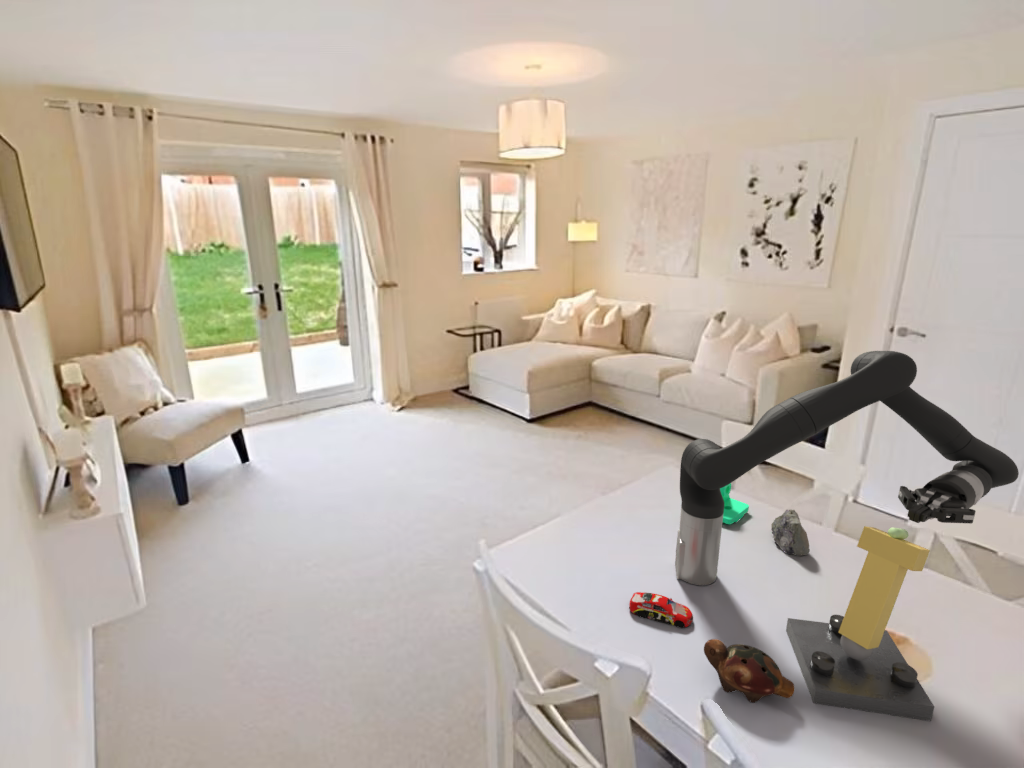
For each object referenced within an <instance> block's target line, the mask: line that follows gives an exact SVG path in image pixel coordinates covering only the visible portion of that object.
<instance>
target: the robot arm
mask: <svg viewBox="0 0 1024 768" xmlns="http://www.w3.org/2000/svg"><path fill="white" fill-rule="evenodd" d="M917 372H918V367H917V364H916V362H915V360H914V359H913V358H912V357H911V356H910V355H908V354H905V353H903V352H899V351H896V350H895V351H894V350H871V351H866V352H863V353H861V354H859V355H857V356H856V357H855V358H854V359H853V361H852V363H851V366H850V375H849V376H846V377H844V378H843V379H840V380H838V381H836V382H832V383H828V384H825V385H821V386H818V387H815V388H812V389H809V390H805V391H803V392H799V393H798V394H797V393H796V394H795V395H793V396H791V397H788V398H787V399H786V400H784V401H781V402H779V403H777V404H776V405H774V406H772V407H771V408H769V409H768V410H767V411H766V412H765V413H764V414H763V415H762V416H761V417H760V418H759V420H758V421H757V423H756V424H755V425H754V426H753V427H752V429H751V430H750V432H748V433H747V434H746V435H744V437H742V438H740V439H738V440H736V441H735V442H733V443H731V444H729V445H726V446H724V447H722V448H721V447H720V446H719V445H718V444H717V443H715V442H714V441H712V440H711V439H708V438H698V439H695V440H692V441H691V442H690V443H689V444H687V445H686V446H685V448H684V450H683V452H682V454H681V459H680V469H679V472H680V473H679V494H680V498H681V505H680V517H679V518H680V519H679V529H678V530H677V536H676V549H675V550H676V551H675V561H674V564H675V565H674V566H675V575H676V579H677V580H681V581H683V582H686V583H688V584H690V585H695V586H708V585H712V584H714V582H716V580H717V576H718V566H719V558H720V547H721V540H722V530H723V513H724V500H723V497H722V494H721V491H720V488H722V487H725V486H726V485H728V484H730V483H731V484H732V483H733V482H735V481H737V480H738V479H739V478H741V477H742V476H744V475H745V474H746V473H747V472H748V473H749V472H750V471H751V470H752V469H754V468H755V467H757V466H758V465H760V464H762V463H764V462H765V461H767V460H768V459H771V458H773V457H775V456H776V455H779V454H780V453H782V452H783V451H785V450H787V449H790V448H791V447H793V446H794V445H797V444H799V443H801V442H803V441H806V440H807V439H808V438H811V437H813V436H815V435H817V434H818V433H820V432H822V431H824V430H825V429H827V428H828V427H830V426H832V425H834V424H836V423H838V422H840V421H841V420H843V419H846V418H847V417H849V416H850V415H852V414H854V413H856V412H857V411H859V410H862V409H864V408H866V407H868V406H870V405H873V404H875V403H877V402H881V403H882V404H883V405H885V406H886V407H887V408H889V409H890V410H891V411H893V412H894V413H895V414H896V415H898V416H899V417H900V418H901V419H902V420H904V422H906V424H908V425H909V426H910V427H912V428H913V429H914V430H915V431H916V432H917V433H918V434H919V436H921V437H922V438H924V439H925V440H926V442H927V443H929V444H930V445H931V447H932V448H934V449H935V450H936V451H937V452H938V453H939V454H940V455H941V456H942V457H943V458H944V459H946V460H948V461H950V462H956V463H955V464H954V465H953V467H952V468H951V470H950V471H947V472H944V473H942V474H940V475H939V476H937V477H935V478H933V479H932V480H930V481H928V482H927V483H926V484H924V486H923V487H921V488H916V489H915V490H911V489H909V488H908V486H905V485H900V486H899V490H898V495H897V498H898V500H899V501H900V503H901V504H902V506H903V507H904V508H905V510H907V512H908V513H907V517H908V520H909V521H912V522H914V523H917V524H919V523H925V522H927V521H928V520H934V519H937V522H940V523H944V524H945V523H946V524H970V525H971V524H973V522H974V519H975V515H976V510H975V509H973V508H972V507H973V506H975V505H977V504H978V502H979V501H980V500H981V499H982V498H983V497H985V496H987V495H988V493H990V491H992V490H991V489H995V488H998V487H1003V486H1006V485H1010V484H1012V483H1014V482H1016V481H1017V479H1018V478H1019V468H1018V466H1017V464H1016V463H1015V461H1014V460H1013V459H1012V458H1011V457H1010V456H1009V455H1008V454H1006V453H1004V452H1003V451H1001V450H999V449H997V448H995V447H993V446H992V445H990V444H988V443H986V442H985V441H983V440H981V439H979V438H977V437H976V436H974V435H973V434H972V433H971V432H970V431H969V430H968V429H967V428H966V427H965V426H964V425H963V424H962V423H961V422H960V421H959V420H958V419H957V418H955V417H954V416H952V415H951V414H950V413H948V412H947V411H945V410H944V409H943V408H942V407H939V406H938V405H936V404H934V402H931V400H930V401H929V400H928V399H926V398H925V397H923V395H920V393H918V392H917V391H916V390H914V389H913V388H912V387H911V385H912V384H913V383H914V381H915V379H916V377H917Z"/></svg>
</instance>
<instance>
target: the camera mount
mask: <svg viewBox="0 0 1024 768" xmlns="http://www.w3.org/2000/svg"><path fill="white" fill-rule="evenodd" d="M731 490H732V483H730V484H728V485H726V486H725V487H722V488H720V491H721V494H722V497H723V500H724V513H723V522H722V524H726V525H733V523H734V522H737V521H738V520H739V519H741V518H742V517H743V516H745V514H746V513H748V512H749V509H750V505H749V504H748V503H745V502H743V501H740V500H737V499H734V498H732V497H730V493H731ZM743 518H744V517H743ZM743 518H742V519H743ZM742 519H741V520H742ZM739 521H740V520H739ZM739 521H738V522H739ZM738 522H737V523H738Z"/></svg>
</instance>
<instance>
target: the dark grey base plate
mask: <svg viewBox="0 0 1024 768" xmlns="http://www.w3.org/2000/svg"><path fill="white" fill-rule="evenodd" d="M844 616H845V615H844ZM844 616H843V615H841V614H831V616H830V618H829V622H823V621H822V622H821V621H814V620H806V619H797V618H790V617H787V621H786V626H785V627H786V628H785V632H786V634H787V636H788V640H789V642H790V645H791V647H792V650H793V653H794V656H795V658H796V661H797V663H798V666H799V669H800V671H801V673H802V676H803V679H804V683H805V684H806V685H805V686H806V687H807V689H808V693H809V695H810V698H811V700H812V703H813V704H818V705H824V706H833V707H839V708H844V707H845V708H844V709H850V708H852V709H851V710H856V709H859V710H858V711H864V712H871V713H877V714H882V713H883V714H884V715H889V714H890V716H894V717H895V716H896V717H903V718H909V719H916V720H922V721H929V722H931V721H932V718H933V714H934V710H935V705H934V704H933V702H932V701H931V699H930V698H929V696H928V694H927V692H926V691H925V688H923V686H922V684H921V683H920V681H919V680H918V674H919V673H918V672H917V670H916V669H915V668H913V667H912V666H910V665H909V663H907V660H906V659H905V657H904V655H903V654H902V652H901V651H900V649H899V647H898V646H897V645H896V643H895V641H894V640H893V638H892V637H891V634H890V633H889V632H888V630H886V629H885V631H884V634H883V636H882V639H881V642H880V644H879V647H877V648H873V651H872V654H871V655H870V657H869V658H867V659H865V660H855V659H853V658H851V657H849V656H848V655H847V654H846V653H845V652H844V651H843V649H842V647H841V643H840V640H841V636H842V634H840V633H838V632H839V629H840V626H841V624H842V621H843V618H844Z"/></svg>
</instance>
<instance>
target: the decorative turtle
mask: <svg viewBox="0 0 1024 768" xmlns="http://www.w3.org/2000/svg"><path fill="white" fill-rule="evenodd" d="M703 652H704V653H703V654H704V655H705V657H706V659H707V661H708V663H710V665H711V666H712V667H713V669H714V670H715V671H716V673H717V675H718V679H719V682H720V685H721V688H722V690H723V691H724V692H725V693H728V694H729V693H733V692H739V693H741V694H743V696H744V697H745V698H746V699H747V701H749V703H752V704H754V703H758V702H759V701H760V700H761V699H763V697H767V696H771V695H775V696H778V697H782V698H785V699H790V698H791V697H792V696H793V695H794V694H795V683H794V682H793V681H791V680H790V679H788V678H786V677H785V676H783V673H782V672H781V669H780V667H779V666H778V664H777V662H776V661H775V660H774V659H773V657H771V656H769V655H768V654H767V653H766V652H764V651H763V650H760V649H759V648H757V647H754V646H751V645H747V644H743V643H736V644H731V645H729V646H727V645H726V644H725V642H723V641H722V640H721V639H716V638H714V639H708V640H707V641H706V642H705V643H704V646H703Z"/></svg>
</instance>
